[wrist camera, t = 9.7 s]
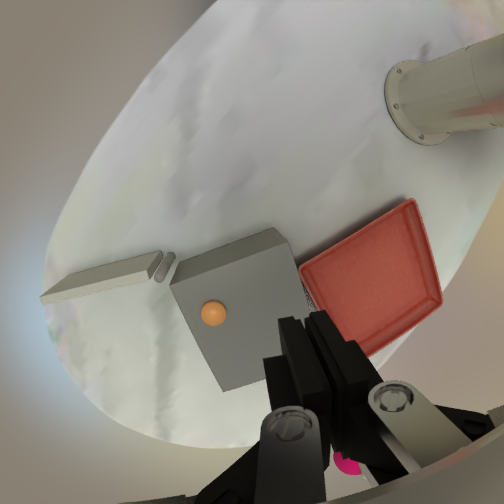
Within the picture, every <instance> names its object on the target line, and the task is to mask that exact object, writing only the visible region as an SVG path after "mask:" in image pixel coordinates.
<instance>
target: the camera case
mask: <svg viewBox="0 0 504 504" xmlns="http://www.w3.org/2000/svg"><path fill="white" fill-rule="evenodd" d="M169 286H170V288H171V291H172V293H173V295H174V297H175V299H176V301H177V303H178V306H179V308H180V310H181V312H182V314H183V316H184V318H185V320H186V322H187V324H188V326H189V328H190V330H191V332H192V334H193V336H194V338H195V340H196V342H197V344H198V346H199V348H200V350H201V352H202V354H203V356H204V358H205V360H206V362H207V363H208V365H209V367H210V369H211V371H212V373H213V375H214V376H215V378H216V380H217V382H218V384H219V386H220V387H221V389H222V391H223V392H226V391H229V390H232V389H236V388H239V387H242V386H245V385H248V384H251V383H254V382H257V381H260V380H263V379H266V376H265V370H264V364H263V358H268V357H274V356H279V355H282V351H281V343H280V335H279V328H278V318H284V317H289V316H294V318H295V319H301V321H302V324H303V326H304V328H305V325H304V318H306V317H309V313H310V309H309V306H308V303H307V299H306V296H305V293H304V290H303V286H302V283H301V280H300V277H299V274H298V270H297V267H296V264H295V261H294V258H293V255H292V252H291V249H290V245H289V242H288V241H287V240H286V239H285V238H284V237H283V236H282V235H281V234H280V233H279V232H278V231H276V230H275V229H274V228H271V229H268V230H265V231H263V232H260V233H257V234H254V235H252V236H249V237H246V238H244V239H241V240H238V241H235V242H233V243H230V244H227V245H225V246H222V247H219V248H217V249H214V250H211V251H209V252H206V253H203V254H201V255H198V256H195V257H193V258H190V259H187V260H185V261H182V262H179V264H178V266H177V268H176V271H175V273H174V275H173V278H172V280H171V282H170V285H169Z"/></svg>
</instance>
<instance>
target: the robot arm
mask: <svg viewBox="0 0 504 504" xmlns="http://www.w3.org/2000/svg"><path fill="white" fill-rule="evenodd" d="M385 97H386V103H387V106H388V109H389V112H390V114H391V116H392V118H393V120H394V122H395V123H396V125H397V126H398V128H399V129H400V130H401V131H402V132H403V133H404V134H405V135H406V136H407V137H408V138H410V139H411V140H413V141H415V142H416V143H419V144H422V145H436V144H440V143H442V142H443V141H445V140H446V139H447V138H448V137H449V136H450V134H451V132H455V131H465V130H477V129H490V128H504V33H503V34H500V35H498V36H495V37H493V38H490V39H487V40H484V41H481V42H479V43H476V44H473V45H471V46H468V47H465V48H463V49H460V50H458V51H455V52H453V53H450V54H448V55H445V56H443V57H440V58H438V59H435V60H433V61H431V62H428V63H426V64H424V63H422V62H419V61H415V60H408V61H403V62H401V63H399V64H397V65H396V66H395V67H393V68H392V70H391V71H390V72H389V74H388V77H387V79H386V84H385ZM304 325H305V328H304V326H303V324H302V321H301V319H295V318H294V316H289V317H284V318H278V328H279V335H280V343H281V351H282V355H279V356H274V357H268V358H263V364H264V370H265V376H266V382H267V388H268V394H269V399H270V405H271V410H272V412H271V413H269V414H268V415H267V416H266V417H265V418H264V420H263V422H262V425H261V431H260V440H259V441H258V442H257V443H256V444H255V445H254V446H253V447H252V448H251V449H249V450H248V451H247V452H246V453H245V454H244V455H243V456H242V457H241V458H239V459H238V460H237V461H236V462H235V463H234V464H233V465H231V466H230V467H229V468H228V469H227V470H226V471H224V472H223V473H222V474H221V475H220V476H219V477H217V478H216V479H215V480H213V481H212V482H211V483H210V484H209V485H207V486H206V487H205V488H204V489H202V490H201V492H200V493H199V494H198V495H195V496H190V497H186V495H179V496H173V497H167V498H160V499H153V500H146V501H137V502H126V503H119V504H504V405H503V406H500V407H497V408H495V409H492V410H489V411H487V412H486V415H484V414H481V413H478V412H473V411H467V410H461V409H454V408H449V407H444V406H438V405H434V404H432V403H431V402H430V401H429V400H428V399H427V398H426V397H425V396H424V395H423V394H422V393H420V392H419V391H418V390H417V389H416V388H415V387H414V386H412V385H411V384H410V383H407V382H404V381H398V380H391V381H386V382H384V381H383V380H382V378H381V377H380V375H379V374H378V372H377V371H376V369H375V368H374V366H373V365H372V363H371V362H370V360H369V359H368V358H367V356H366V355H365V353H364V352H363V350H362V349H361V347H360V346H359V344H358V343H357V342H356V341H355V340H350V341H345V339H344V338H343V336H342V335H341V333H340V332H339V330H338V328H337V327H336V325H335V324H334V322H333V321H332V319H331V318H330V316H329V314H328V313H327V311H326V310H320V311H315V312H310V313H309V317H306V318H304ZM330 444H331V445H332V448H333V451H334V452H335V453H337V452H340V453H341V456H342V459H343V460H344V459H348V458H350V460H353V461H356V462H359V467H360V469H361V471H362V473H363V474H364V476H365V477H366V479H367V480H368V482H369V483H370V485H371V486H372V488H371V489H368V490H365V491H362V492H359V493H355V494H352V495H349V496H345V497H341V498H338V499H334V500H330V501H327V500H326V489H325V477H324V471H325V470H326V469H327V467H328V466H329V462H330V446H331V445H330Z"/></svg>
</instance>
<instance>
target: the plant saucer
mask: <svg viewBox="0 0 504 504" xmlns="http://www.w3.org/2000/svg"><path fill="white" fill-rule="evenodd" d="M298 274H299V276H300V278H301V280H302V282H303V284H304V285H305V287H306V289H307V291H308V293H309V295H310V297H311V299H312V301H313V302H314V305H315V306H316V308H317V310H318V311H320V310H326V311H327V313H328V314H329V316H330V318H331V319H332V321H333V322H334V324H335V325H336V327H337V328H338V330H339V332H340V333H341V335H342V336H343V338H344V339H345V341H350V340H355V341H356V342H357V343H358V344H359V346H360V347H361V349H362V350H363V352H364V353H365V355H366V356H367V358H369V357H370V356H372V355H374V354H375V353H377V352H378V351H380V350H381V349H383V348H384V347H386V346H387V345H389V344H390V343H392V342H393V341H395V340H396V339H398V338H399V337H400V336H402V335H403V334H405V333H406V332H408V331H409V330H410V329H412V328H413V327H415V326H416V325H417V324H419V323H420V322H421V321H423V320H424V319H425V318H426V317H428V316H429V315H431V314H432V313H433V312H435V311H436V310H437V309H438V308H440V307H441V306H442V304H443V295H442V291H441V286H440V282H439V278H438V273H437V270H436V266H435V262H434V258H433V254H432V250H431V247H430V243H429V240H428V236H427V233H426V230H425V227H424V224H423V220H422V217H421V214H420V211H419V208H418V205H417V203H416V201H415V199H413V198H410V199H408V200H407V201H405V202H403V203H402V204H400V205H399V206H397V207H395V208H394V209H392V210H390V211H389V212H387V213H386V214H384V215H382V216H381V217H379V218H377V219H376V220H374V221H373V222H371V223H369V224H368V225H366V226H365V227H363V228H362V229H360V230H358V231H357V232H355V233H353V234H352V235H350V236H349V237H347V238H345V239H344V240H342V241H340V242H339V243H337V244H335V245H334V246H332V247H330V248H329V249H327V250H325V251H324V252H322V253H320V254H319V255H317V256H315V257H313V258H312V259H310V260H308V261H307V262H305V263H303V264H301V265H300V266H299V268H298Z"/></svg>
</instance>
